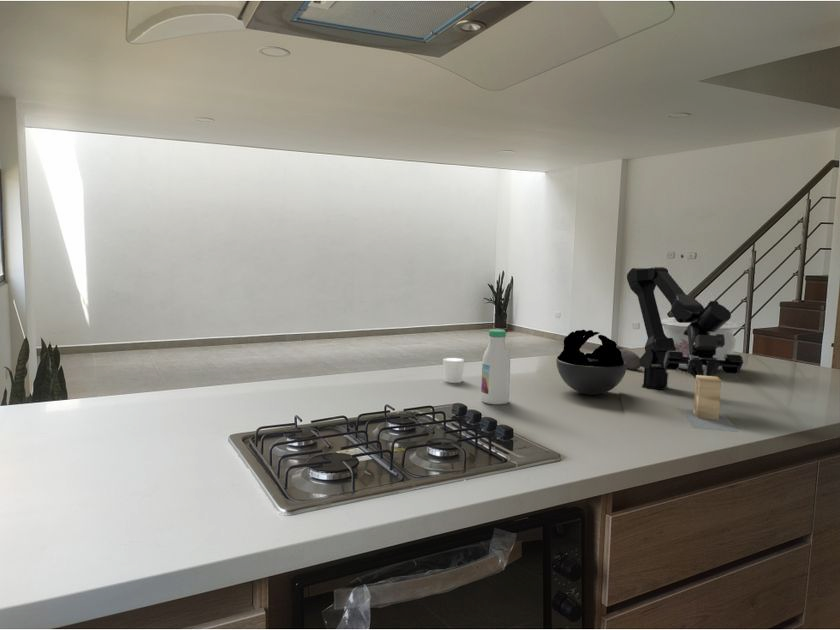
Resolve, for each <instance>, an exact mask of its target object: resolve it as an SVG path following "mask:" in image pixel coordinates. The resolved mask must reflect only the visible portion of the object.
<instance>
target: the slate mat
mask: <svg viewBox="0 0 840 630" xmlns="http://www.w3.org/2000/svg"><path fill="white" fill-rule="evenodd" d="M681 411H682V412H683V414H684V416H685V418H686V419H687V420H688V422H689V423H690V425H691V426H692V428H693V429H703V430H715V431H725V432H735V433H737V432H738V433H740V431H739V430H738V428H736V426H735V425H734V424H733V423H732V422H731V420H730V419H729V418H728V417H727V416H726V415H725V414H724V413H723V412H722V411H719V418H718V419H707V418H697V417H696V416H695V414H694V413H693V409H686V408H681Z"/></svg>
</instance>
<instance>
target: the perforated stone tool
mask: <svg viewBox="0 0 840 630" xmlns="http://www.w3.org/2000/svg"><path fill="white" fill-rule="evenodd" d="M616 347H617V348H619V350H620V351H621V355H622V358H623V361H625V362H627V369H626V370H633V371H634V370H635V371H636V370H639V369H640V368H642V367H641V366H640V364H639V359H640V358H641V357H640V356H639V355H638V354H637V353H635V352H633V351H631V350H630V349H627V348H623V347H621V346H620V347H618V346H616Z"/></svg>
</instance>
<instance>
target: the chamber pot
mask: <svg viewBox="0 0 840 630" xmlns="http://www.w3.org/2000/svg"><path fill="white" fill-rule="evenodd" d="M660 319H661V323H662V327H663V331H664V334H665V336H666V337H667V338H673V340H674V345H675V348H676V351H682V354H683V356H682V357H689V355H690V352H689V341H688V336H686V335H684V334H683V333H684V331H685V330H686V329H687V327H688V326H689V325H690V324H691V323H679V322H677V321H676V319H675V317H674V316H673V317H672V316H671V317H665V318H660ZM741 328H742V326H741V325H740V324H738V323H735V322H733V321H730V320H728V321H727V322H726V323H725V324H724V325H723V326H722V327H721V328H719V329H718V330H717V331H716V332H710V335H715V336H716V334H724V338H725V345H724V346H723V347H717V348H716V355H713V357H714V358H723V359H724V357H725V354H734V351H735V347H736V338H735V336H734V334H733V333H734V331H735V330H739V329H741ZM687 368H688V366H687V365H683V364H679V368H678V369H681V370H685V371H687ZM702 369H703V373H704V371H705V366H702ZM720 370H722V366H719V367H718V370H717V371H720Z"/></svg>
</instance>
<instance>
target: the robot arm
mask: <svg viewBox="0 0 840 630" xmlns="http://www.w3.org/2000/svg"><path fill="white" fill-rule="evenodd" d="M668 270H669V269H667V268H666V267H663V266H653V267H648V268H647V267H646V268H645V267H644V268H643V267H638V268H637V267H633V268H631V269H630V270H629V271H628V273H627V275H626V280H627V283H628V286H629V288H630V290H631V291H632V292H633V293H634V294H635V296H637V298H638V299H637V300H638V303H639V308H640V311H641V315H642V319H643V320H642V321H643V324H644V328H645V332H646V335H647V336H646V337H647V340H646V343H645V345H644V353H643V354H642V356H641V357H639V358H640V359H639V364H640V366H641V367H640V368H643V383H642V385H641V387H642V388H649V389H655V390H666V388H667V387H668V385H669V377H670V375H669V372H668V371H677V370H678V369H680V368H679V364H683V365H687V366H688V368H687V370H686V373H687V374H690V375H691V376H692V377H693V378H694V379H695V380H696V375H703V376H715V375H716V374H717V372H718V371H719V370H718V367H719V366H722V368H721V371H722V372H723V373H724V374H729V375H730V374H731V375H737V374H740V371H741V369H742V368H743V365H744V358H743V356H742V355H740V354H736V353H735V354H734V353H733V354H725V357H724V359H723V358H714V357H713V355H716V348H717V347H723V346H724V345H725V338H724V334H716V336H715V335H710V332H716V331H717V330H718V329H719V328H721V327H722V326H723V325H724V324H725V323H726V322H727V321H730V319H731V318H732V314H731V311H730V310H729V309H728V308H726V307H725V306H724V305H722V304H720V303H719V301H718V300H710V302H708V303H707V304H706V306H705V307H704V305H703V304H702V303H701V302H699V301H698V300H697V299H695V298H693V297H691V296H689V295H688V294H686V293H685V292H684V290H683V288H681V286H679V284H678V283H677V282H676V280H675V279H674V278H673V277H672V275H670V273H669V271H668ZM656 287H657V288H658V289H659V290H660V292H661V293H662V295H663V296H664V297H665V298H666V299H667V301H668V303H670V305H671V308H670V312H671V313H672V315H673V317H675V319H676V321H677V322H679V323H691V324H690V325H689V326H688V327H687V329H686V330H685V331H684V333H683V334H684V335H686V336H688V341H689V352H690V355H689V357H682V356H683V354H682V351H676V348H675V345H674V340H673V338H667V337H666V336H665V334H664V326H663V325H662V323H661V319H662V318H661V314H660V312H659V307H658V304H657V300H656V297H655V296H656V295H655V289H656ZM702 366H705V371H704V372H703V369H702Z"/></svg>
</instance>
